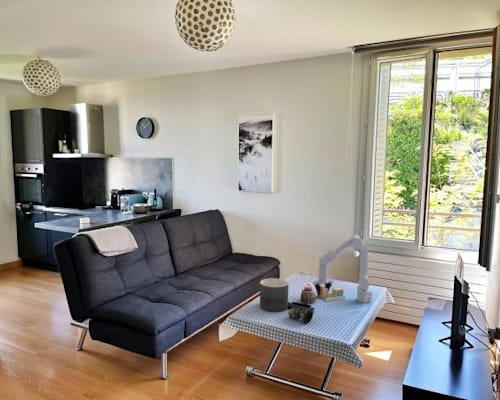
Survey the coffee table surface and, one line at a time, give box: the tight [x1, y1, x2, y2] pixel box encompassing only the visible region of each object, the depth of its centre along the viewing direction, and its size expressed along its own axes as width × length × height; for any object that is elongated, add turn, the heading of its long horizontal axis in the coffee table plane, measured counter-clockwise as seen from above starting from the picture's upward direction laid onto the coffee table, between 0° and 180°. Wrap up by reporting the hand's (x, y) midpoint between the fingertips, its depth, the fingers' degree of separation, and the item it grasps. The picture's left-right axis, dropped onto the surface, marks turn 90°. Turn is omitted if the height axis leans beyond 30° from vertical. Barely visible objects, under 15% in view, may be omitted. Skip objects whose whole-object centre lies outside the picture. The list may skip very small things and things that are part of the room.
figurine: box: [287, 307, 314, 325], centre depth 223 cm, size 9×8×15 cm
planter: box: [259, 277, 289, 313], centre depth 242 cm, size 18×18×16 cm
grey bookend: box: [316, 292, 346, 302], centre depth 259 cm, size 12×15×3 cm
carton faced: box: [331, 287, 344, 297], centre depth 257 cm, size 6×4×6 cm, turn 114°
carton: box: [318, 285, 329, 298], centre depth 259 cm, size 6×4×6 cm, turn 24°
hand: (322, 294), depth 260 cm, fingers open, 6 cm apart
